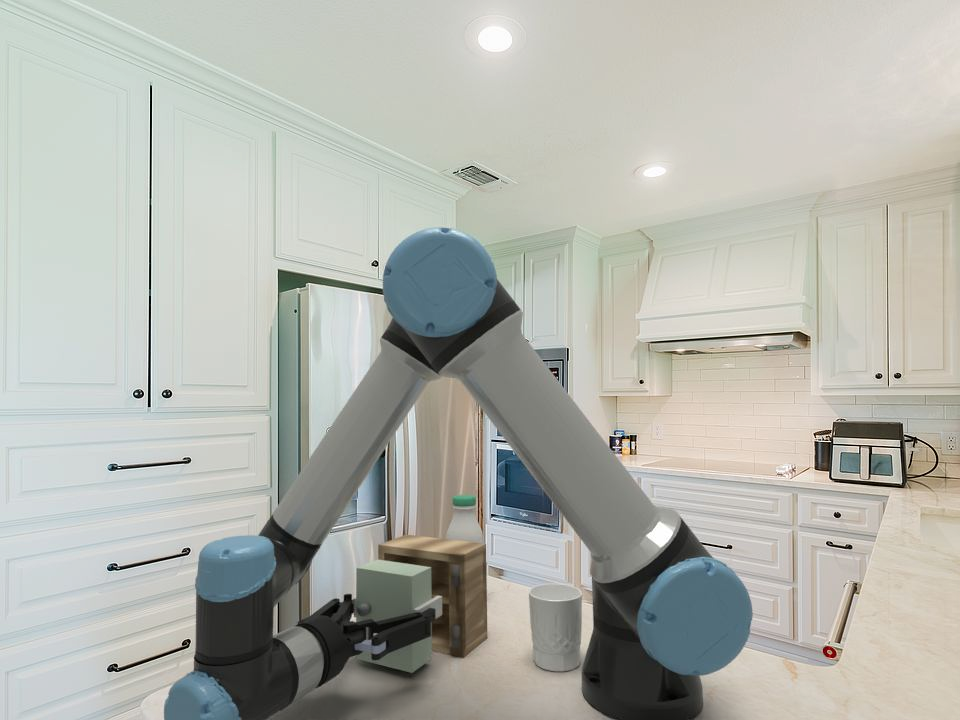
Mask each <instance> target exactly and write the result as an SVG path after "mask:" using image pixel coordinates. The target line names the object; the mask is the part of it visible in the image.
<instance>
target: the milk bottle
mask: <svg viewBox="0 0 960 720" xmlns="http://www.w3.org/2000/svg"><path fill="white" fill-rule="evenodd" d="M476 503H477V497H476V496H475V495H473V494H458V495H454V496H452V508H453V515H452V518H451V521H450V524H449V526H448V528H447V532H446V534H445V539H449V540H458V541H467V542H476V543H484V544H485V539H484V534H483V531H482V528H481V526H480V524H479V521H478V518H477V515H476V511H475V510H476V509H475V508H477V505H476Z"/></svg>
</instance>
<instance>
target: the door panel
mask: <svg viewBox="0 0 960 720" xmlns="http://www.w3.org/2000/svg"><path fill="white" fill-rule="evenodd" d="M355 568H356V571H355V572H356V573H355V574H356V576H355V577H356V583H355V584H356V585H355V587H356V588H355V589H356V591H355V594H356V595H355V598H356V617H355V622H359V621H364V620H368V619H373V620H374V621H375V622H376V621H381V620H385V619H390V618H394V617H398V616H403V615H407V614H411V613H413V609H415V608H417V607H419V606H420V605H422V604H424V603H426V602H427V601H429V600H431V567H426V566H419V565H412V564H405V563H398V562H391V561H385V560H378V558H377V559H376V560H373V561H371V562H367V563H365V564H363V565H360V566H357V567H355ZM366 640H368V627H366ZM432 653H433V651H432V622H431V636H430V637H428V638H425V639H423V640H420V641H418V642H415V643H413V644H410V645H408V646H405V647H403V648H400V649H398V650H395V651H393V652H390V653H388V654H387V655H385V656H384V657H382V658H381V659H379V660H372V659H371V653H370V652H365V651H363V652H362V653H361V654H359V655H356V656H355V659H356V660H359V661H364V662H367V663H372V664H375V665H379V666H382V667H387V668H391V669H396V670H399V671H403V672H408V673H410V674H413V673H414V672H415V671H417V670H419V669H420V668H421V667H422V666H423V665H425V664H426V663H428V662H429V661H431V660H432V659H433V654H432Z"/></svg>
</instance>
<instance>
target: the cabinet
mask: <svg viewBox="0 0 960 720" xmlns="http://www.w3.org/2000/svg"><path fill="white" fill-rule="evenodd" d="M377 548H378V549H377V550H378V551H377V552H378V553H377V555H378V556H377V557H378V558H377V559H378V560H385V561H391V562H398V563H405V564H412V565H419V566H426V567H431V599H433V598H434V597H436V596H442V615H441V616H440V617H438V618H436V619H435V621H433V622H432V652H436V653H441V654H445V655H449V656H454V657H459V658H465V657H467V655H468V654H470V653H471V652H472V651H473V650H475V649H476V648H477V647H478V646H480V645H481V644H482V643H484V641H486V640H487V639H488V596H487V595H488V594H487V593H488V591H487V590H488V589H487V587H488V585H487V583H488V582H487V575H488V574H487V543H485V542H484V543H476V542H467V541H458V540H449V539H446V538H440V537H432V536H431V537H429V536H423V535H422V536H421V535H415V534H414V535H412V534H404V535H401V536H399V537H395V538H393V539H390V540H388V541H385V542H384V541H383V542H382V543H379V544H377Z"/></svg>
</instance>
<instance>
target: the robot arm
mask: <svg viewBox="0 0 960 720" xmlns="http://www.w3.org/2000/svg"><path fill="white" fill-rule="evenodd" d="M495 267H496V266H495V263H494V262H493V261H492V257H491V256H490V254H489V253H488V251H487V250H486V249H485V247H484V246H483V245H482V244H481V242H479V240H477V239H476V238H475V237H474V236H472V235H470V234H468V233H466V232H465V231H462V230H459V229H457V228H451V227H450V228H449V227H441V226H438V227H437V226H435V227H428V228H424V229H421V230H418V231H416V232H414V233H412V234H410V235H409V236H406V237H405V238H404V239H403V240H402V241H400V243H398V244H397V246H396V247H395V248H394V249H393V251H391V253H390V255H389V256H388V259H387V260H386V263H385V267H384V268H383V269H384V270H383V273H382V294H383V300H384V303H385V305H386V309H387V311H388V312H389V315H391V319H390V320H391V321H389V324H388V326H387V328H386V330H384V332H383V334H381V335H382V336H380V338H379V344H380V347H381V348H380V349H381V350H380V352H379V353H378V355H377V356H376V358H375V360H374V361H373V362H372V364H371V366H370V367H369V368H368V370H367V372H366V373H365V375H364V377H362V379H361V381H360V382H359V384H358V385H357V387H355V389H354V391H353V393H352V394H351V395H350V397H349V399H348V400H347V401H346V403H345V405H344V407H343V408H342V409H341V411H339V414H338V415H337V416H336V418H335V419H334V421H333V423H332V424H331V426H330V427H329V429H328V430H327V431H326V433H325V435H324V436H323V437H322V439H321V440H320V442H319V444H318V445H317V447H316V448H315V449H314V451H313V453H312V454H311V456H310V457H309V459H308V460H307V461H306V463H305V464H304V466H303V467H302V469H301V471H299V474H298V475H297V477H296V478H294V481H293V482H292V484H291V486H290V487H289V489H287V491H286V493H285V495H284V496H283V497H282V499H281V501H280V502H279V503H278V505H277V507H276V508H275V509H274V511H273V512H272V515H270V517H269V519H268V520H267V522H265V525H264V526H263V527H262V529H261V530H260V532H259V533H258V535H254V534H253V535H252V534H250V535H248V534H247V535H246V534H245V535H237V536H236V535H235V536H228V537H223V538H221V539H218V540H214V541H211V542H209V543H207V544H205V545H204V546H203V547H202V548H201V550H200V552H199V555H198V562H197V563H198V564H197V575H196V577H195V581H194V588H195V591H196V592H195V648H194V650H195V651H194V655H193V670H192V671H189V672H187V673H186V674H185V675H184V676H183V677H181V678H180V679H177V681H175V682H174V683H173V684H172V686H171V687H170V688H169V690H168V693H167V694H168V696H167V698H166V699H165V701H164V706H163V720H267V719H268V718H270V717H272V716H273V715H276V714H277V713H278V712H280V711H283V710H284V709H286V708H288V707H289V706H290V705H291V704H293V703H294V702H296V701H298V700H299V699H301V698H303V697H305V696H307V695H308V694H309V693H311V692H313V691H315V689H318V688H320V687H322V686H323V685H326V684H327V683H328V682H329V681H332V680H333V679H334V678H336V677H337V676H339V675H340V674H341V673H342V671H343V669H344V668H345V666H346V664H347V662H348V661H349V659H350V658H352V657H356V655H359V654H361V653H362V652H363V651H365V652H370V653H371V659H372V660H379V659H381V658H382V657H384V656H385V655H387V654H388V653H390V652H393V651H395V650H398V649H400V648H403V647H405V646H408V645H410V644H413V643H415V642H418V641H420V640H423V639H425V638H428V637H430V636H431V622H433V621H435V619H436V618H438V617H440V616H441V615H442V596H436V597H434V598H433V599H431V600H429V601H427V602H426V603H424V604H422V605H420V606H419V607H417V608H415V609H413V613H411V614H407V615H403V616H398V617H394V618H390V619H385V620H381V621H376V622H375V621H374V620H373V619H368V620H364V621H359V622H356V621H355V620H354V621H351V620H352V617H353V618H356V597H354V598H353V594H352V593H345V594H343V601H340V598H332V599H331V600H329V601H328V602H327V603H325V604H324V605H323V606H322V607H320V608H319V609H318V610H315V612H313V613H312V614H311V615H309V616H308V617H305V618H302V619H300V620H299V621H297V624H295V625H294V626H290V627H288V628H286V629H284V630H282V631H280V632H278V633H276V634H274V615H275V614H274V611H275V610H274V609H275V607H276V606H277V605H278V603H280V602H281V600H282V599H283V598H284V597H285V596H286V595H287V594H288V592H289V591H291V589H292V588H293V587H294V586H295V585H297V584H298V583H300V582H301V580H302V579H303V578H304V576H305V575H307V574H306V573H307V572H308V571H309V569H310V567H311V565H312V563H313V560H314V558H315V556H316V555H317V553H318V552H319V551H320V548H321V546H322V545H323V543H324V542H325V540H326V539H327V538H328V536H329V534H331V533H330V532H331V531H332V530H333V528H334V527H335V525H336V524H337V522H338V520H339V519H340V518H341V516H342V514H344V511H345V510H346V508H347V507H348V506H349V504H350V502H351V501H352V499H353V498H354V496H355V495H356V494H357V492H358V490H359V488H360V487H361V486H362V484H363V483H364V481H365V480H366V478H367V477H368V475H369V474H370V472H371V471H372V469H373V467H374V466H375V464H376V463H377V461H379V458H380V457H381V455H382V454H383V452H384V451H385V450H386V448H387V446H388V444H389V443H390V442H391V441H392V439H393V437H394V435H395V434H396V433H397V431H398V430H399V428H400V426H401V425H402V424H403V422H404V420H405V419H406V417H407V416H408V415H409V413H410V411H411V410H412V408H413V407H414V405H415V404H416V403H417V401H418V399H419V398H420V396H421V395H422V393H423V391H424V390H425V388H426V387H427V386H428V384H429V383H430V382H433V381H437V380H441V378H442V377H444V378H451V379H456V380H457V381H458V380H459V381H460V382H461V384H462V385H463V386H464V387H465V389H466V390H467V392H468V393H469V395H470V396H471V397H472V398H473V399H474V401H475V402H476V404H477V405H478V406H479V408H480V409H481V410H482V411H483V413H484V414H485V415H486V417H487V418H488V419H489V420H490V422H491V424H492V425H493V426H494V427H495V429H496V430H497V431H498V432H499V433H500V435H501V436H502V438H503V439H504V440H505V442H506V443H507V444H508V446H509V447H510V449H512V451H513V452H514V454H515V455H516V456H517V458H518V459H519V460H520V461H521V462H522V464H523V465H524V466H525V468H526V469H527V471H529V473H530V474H531V476H532V477H533V479H534V480H535V481H536V482H537V484H538V485H539V486H540V488H541V489H542V490H543V492H544V493H545V494H546V495H547V497H548V498H549V500H550V501H551V502H552V503H553V505H554V507H556V509H557V510H558V511H559V513H560V514H561V516H562V517H564V519H565V520H566V522H567V523H568V524H569V526H570V527H571V529H572V530H573V531H574V532H575V534H576V535H577V537H578V538H579V539H580V540H581V541H582V543H583V544H584V545H585V547H586V548H587V550H588V551H589V552H590V566H589V567H590V568H589V573H590V575H591V589H592V592H591V593H592V619H593V620H592V621H593V629H592V633H591V636H590V640H589V643H588V646H587V650H586V654H585V657H584V661H583V664H582V666H581V673H580V674H581V693H582V695H583V696H584V698H585V699H586V701H587V702H588V703H589V704H590V705H592V706H593V707H594V708H595V709H597V710H598V711H599V712H602V713H604V714H606V715H607V716H610V717H612V718H615V719H618V720H687V719H689V720H691V719H693V718H694V716H695V715H696V716H697V715H698V714H700V712H701V711H702V708H703V707H704V706H703V705H704V696H703V694H704V693H703V683H702V679H701V676H706V675H710V674H714V673H715V672H718V671H720V670H722V669H724V668H726V667H727V666H728V665H729V664H730V663H732V662H733V661H734V660H735V659H736V658H737V657H739V654H740V653H741V652H742V651H743V649H744V648H745V646H746V644H747V642H748V639H749V637H750V634H751V626H752V622H753V621H752V620H753V615H754V614H753V613H754V612H753V605H752V600H751V596H750V593H749V591H748V590H747V587H746V586H745V583H743V581H742V580H741V578H740V577H739V576H738V575H737V574H736V573H735V571H734V570H733V569H732V568H731V567H729V566H728V565H727V563H725V562H722V561H721V560H719V559H717V558H715V557H713V556H712V555H711V554H710V552H709V551H708V550H707V549H706V548H705V546H704V545H703V543H702V542H701V541H700V540H699V539H698V537H697V536H696V535H695V533H694V532H693V531H692V529H691V528H690V527H689V526H688V524H687V523H686V522H685V520H684V519H683V518H682V516H680V514H679V513H678V511H676V510H675V509H673V508H667V507H660V506H656V505H654V503H653V502H652V500H650V498H649V497H648V496H647V494H646V493H645V492H644V490H643V489H642V487H641V486H640V485H639V484H638V483H637V481H636V480H635V478H634V477H633V476H632V475H631V474H630V472H629V471H628V469H627V468H626V467H625V466H624V464H623V463H622V462H621V460H620V459H619V458H618V456H617V455H616V453H614V451H613V450H612V448H610V446H609V445H608V443H607V442H606V441H605V440H604V439H603V437H602V436H601V434H600V433H599V432H598V431H597V429H596V428H595V427H594V426H593V424H592V423H591V421H590V420H589V419H588V418H587V417H586V415H585V414H584V412H583V411H582V409H580V407H579V406H578V405H577V403H576V402H575V400H574V399H573V398H572V397H571V396H570V394H569V393H568V392H567V390H566V389H565V388H564V386H563V385H562V384H561V383H560V381H559V380H558V378H557V377H556V376H555V375H554V373H553V372H552V371H551V370H550V368H549V366H547V364H546V363H545V362H544V361H543V359H542V357H540V355H539V354H538V353H537V351H536V350H535V348H534V347H533V346H532V345H531V344H530V343H529V341H528V340H527V338H526V337H525V335H523V332H522V323H523V322H522V321H523V317H524V313H523V311H522V309H521V308H520V307H519V305H518V304H517V303H516V301H515V300H514V299H513V298H512V295H510V293H509V291H507V290H506V288H505V287H504V286H503V285H502V283H501V282H500V281H499V279H498V277H497V271H496V268H495ZM352 615H353V616H352ZM366 627H368V640H366ZM696 716H695V717H696ZM692 717H693V718H692ZM690 718H691V719H690Z"/></svg>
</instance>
